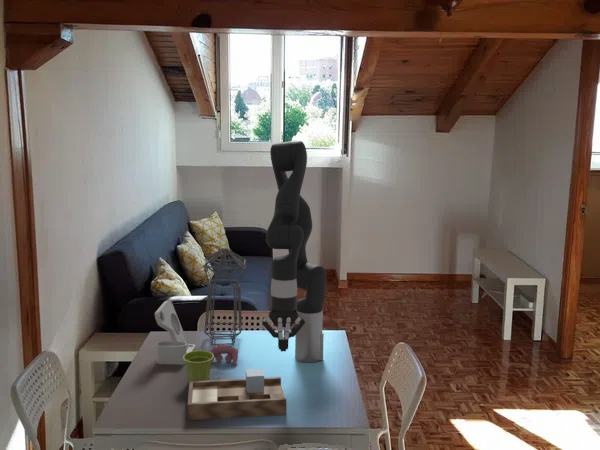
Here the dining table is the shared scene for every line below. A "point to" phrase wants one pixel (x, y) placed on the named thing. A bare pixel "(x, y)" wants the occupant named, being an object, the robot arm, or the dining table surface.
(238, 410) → the box
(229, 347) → the video game controller
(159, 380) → the dining table surface
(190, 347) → the phone holder
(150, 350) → the dining table surface
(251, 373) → the block
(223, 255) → the geometric lantern
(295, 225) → the robot arm
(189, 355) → the plant pot
